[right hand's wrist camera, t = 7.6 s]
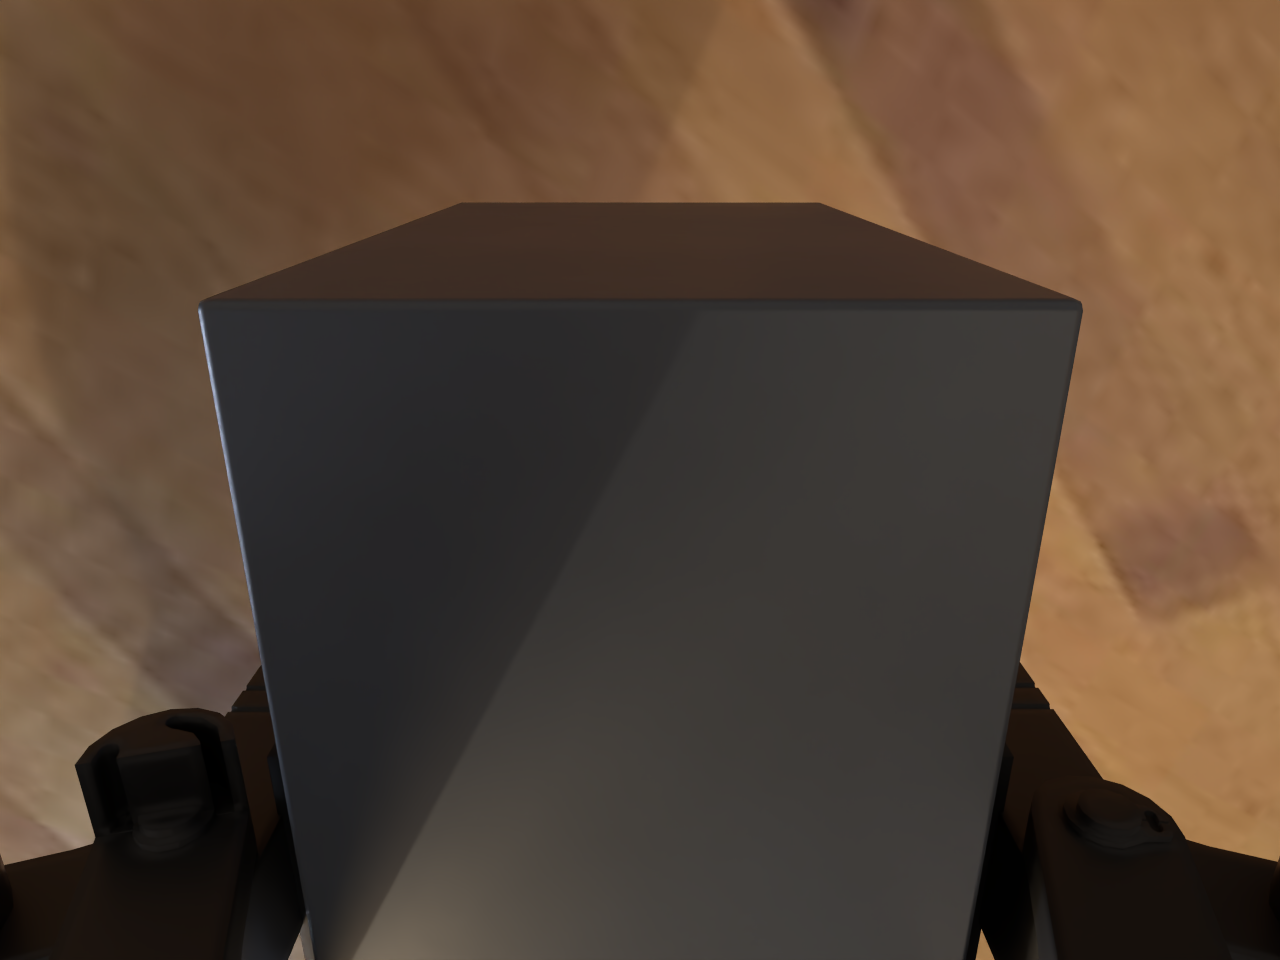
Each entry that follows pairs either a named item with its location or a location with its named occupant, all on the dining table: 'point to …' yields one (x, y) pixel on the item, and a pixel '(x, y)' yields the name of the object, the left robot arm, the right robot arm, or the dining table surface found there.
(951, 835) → the beam
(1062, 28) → the dining table surface
